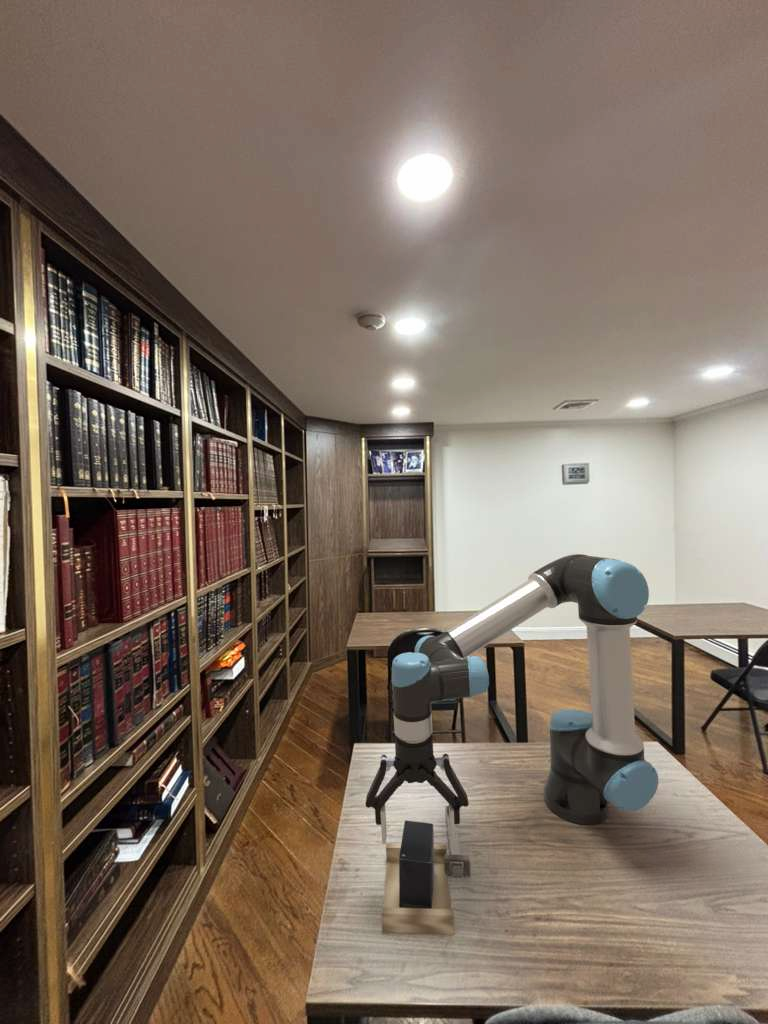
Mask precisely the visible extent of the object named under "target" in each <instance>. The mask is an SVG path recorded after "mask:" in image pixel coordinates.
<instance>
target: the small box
mask: <svg viewBox="0 0 768 1024" xmlns="http://www.w3.org/2000/svg"><path fill="white" fill-rule="evenodd" d="M434 838H435V835H434V824H433V823H430V822H421V821H411V820H404V824H403V829H402V837H401V843H400V844H401V849H400V855H399V908H424V909H432V898H433V883H434V844H435V841H434V840H435V839H434Z"/></svg>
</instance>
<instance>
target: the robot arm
mask: <svg viewBox="0 0 768 1024" xmlns="http://www.w3.org/2000/svg"><path fill="white" fill-rule="evenodd" d="M527 579H528V580H527V581H525V582H523V583H522V584H520V585H519V586H517V587H515V588H514V589H512V590H511V591H509V592H507V593H506V594H504V595H503V596H501V597H499V598H497V599H496V600H495V601H492V603H491V602H490V603H489V604H488V605H486V606H484V607H483V608H481V609H480V610H478V611H477V612H475V613H474V614H471V615H470V616H469V617H467V618H465V619H463V620H462V621H461V622H459V623H456V624H455V625H454V626H453V627H451V628H449V629H448V630H447V629H446V630H445V631H444V632H442V633H441V634H439V635H437V636H435V635H426V636H423V637H421V638H420V639H419V640H418V641H417V642H416V645H415V647H414V652H411V651H409V652H403V653H400V654H398V655H396V656H395V657H394V658H393V660H392V663H391V681H390V682H391V684H392V700H393V726H394V727H393V729H394V730H393V731H394V746H395V747H394V748H395V749H394V750H395V751H394V752H395V756H394V758H392V757H387V755H386V754H382V755H381V757H380V765H379V768H378V770H377V772H376V774H375V776H374V779H373V781H372V783H371V785H370V787H369V789H368V791H367V794H366V798H365V807H366V808H367V809H368V808H373V809H374V817H375V824H376V826H380V827H381V829H380V830H381V843H382V845H386V843H387V834H388V833H387V817H386V816H387V815H386V811H387V810H386V803H387V802H388V800H389V799H390V798H391V797H392V795H393V794H394V793H395V792H396V791H397V789H398V788H399V787H402V785H403V784H404V782H407V783H408V784H413V783H418V784H424V782H425V781H426V782H427V783H428V784H429V785H430V786H431V787H432V788H434V789H435V790H436V791H437V792H438V793H439V794H440V795H441V796H442V798H443V799H444V800H445V801H446V802H447V803H448V805H449V821H450V837H451V844H455V827H454V824H456V825H460V822H461V817H460V816H461V815H460V812H461V808H462V807H465V808H466V807H468V806H469V804H470V803H469V799H468V794H467V792H466V790H465V789H464V787H463V785H462V783H461V781H460V780H459V777H458V776H457V775H456V773H455V771H454V769H453V767H452V766H451V763H450V758H449V754H448V753H444V754H442V756H441V757H435V755H434V754H435V753H434V738H433V737H434V736H433V719H432V718H433V716H432V715H433V713H432V710H433V709H432V704H433V703H439V702H445V701H452V700H457V699H464V698H466V699H467V698H472V697H474V696H478V695H483V694H485V693H487V690H488V689H489V685H490V675H489V671H488V668H487V665H486V662H485V661H484V660H483V659H482V658H481V657H479V656H476V655H474V654H475V653H477V652H478V651H480V650H482V649H483V648H484V647H486V646H488V645H490V644H491V643H492V642H494V641H495V640H497V639H499V638H501V637H503V636H504V635H505V634H507V633H508V632H510V631H511V630H513V629H515V628H516V627H518V626H519V625H521V624H523V623H524V622H525V621H528V620H529V619H531V618H532V617H534V616H535V615H537V614H538V613H540V612H542V611H543V610H545V609H546V608H549V609H555V608H556V607H557V606H559V605H561V604H565V603H570V602H571V603H575V604H577V611H578V613H577V614H578V619H579V621H581V622H582V623H583V624H584V625H585V626H586V634H587V635H586V639H587V656H588V672H589V673H588V674H589V675H588V676H589V677H588V678H589V693H590V710H591V711H586V710H582V709H576V708H575V709H574V708H573V709H572V708H569V709H568V708H566V709H560V710H557V711H554V712H553V713H552V714H551V716H550V721H549V728H548V729H549V745H550V746H549V747H550V750H549V751H550V754H549V755H550V770H549V772H548V775H547V778H546V780H545V783H544V787H543V798H544V799H543V800H544V802H545V804H546V806H547V807H548V808H549V810H551V812H553V814H555V815H557V816H558V817H560V818H562V819H563V820H566V821H568V822H571V823H575V824H579V825H596V824H600V823H602V822H604V821H605V820H606V819H607V818H608V816H609V803H611V804H612V805H613V806H615V807H616V808H617V809H619V810H620V811H621V810H622V811H623V812H634V811H638V810H641V809H642V808H644V807H645V806H647V805H648V804H649V803H650V802H651V800H652V799H653V798H654V796H655V795H656V793H657V790H658V786H659V775H658V771H657V770H656V768H655V767H654V766H653V765H652V764H651V763H650V762H648V761H647V760H646V759H645V745H644V741H643V739H642V738H641V737H640V736H639V735H638V734H637V733H636V727H635V725H636V722H635V708H634V707H635V706H634V687H633V669H632V666H633V664H632V651H631V650H632V648H631V647H632V645H631V632H630V631H631V628H632V627H633V626H634V625H635V624H636V623H638V616H639V615H641V614H642V613H643V612H645V611H644V610H645V609H646V608H645V606H647V605H648V602H649V599H650V598H649V597H650V595H649V594H650V591H649V589H650V588H649V586H648V582H647V579H646V578H645V576H644V574H643V572H642V571H641V570H640V569H638V568H637V567H636V566H635V565H633V564H631V563H629V562H627V561H622V560H620V559H616V558H610V557H599V556H593V555H587V554H579V553H576V554H569V555H566V556H563V557H560V558H558V559H556V560H553V561H552V562H548V563H547V564H545V565H543V566H542V567H540V568H538V569H537V570H535V571H534V572H532V573H530V574H529V575H528V578H527ZM472 655H474V656H472ZM437 766H438V767H439V768H440V769H441V771H444V772H445V776H446V778H447V780H448V781H449V783H450V785H451V787H452V788H453V790H452V789H451V788H450V787H449V786H448V785H447V784H446V783H445V782H444V781H443V780H442V779H441V777H440V776H439V775H438V774H437V771H435V769H436V768H437ZM392 767H394V769H395V770H396V771H395V774H394V775H393V776H392V777H391V778H390V780H389V781H388V782H387V783H386V785H385V786H384V787H383V788H382V790H381V791H380V792H379V790H380V788H381V786H382V783H383V781H384V780H385V776H386V775H387V774H386V773H387V772H389V771H390V770H391V768H392ZM453 791H454V792H453ZM378 792H379V794H378Z"/></svg>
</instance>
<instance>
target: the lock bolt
mask: <svg viewBox="0 0 768 1024" xmlns="http://www.w3.org/2000/svg"><path fill="white" fill-rule="evenodd" d="M444 807H445V821H446V833H447V837H448V847H449V848H448V849H449V855H462V853H461V848H460V841H459V833H458V828H457V824H454V827H455V844H451V837H450V821H449V804H448V805H445V806H444ZM451 875H452V877H453V878H463V875H464V872H463V862H451Z"/></svg>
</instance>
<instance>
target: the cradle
mask: <svg viewBox="0 0 768 1024" xmlns="http://www.w3.org/2000/svg"><path fill="white" fill-rule="evenodd" d="M400 849H401V843H387V842H386V844H385V856H386V857H385V860H386V861H385V862H386V864H385V877H384V893H383V894H384V896H383V897H384V898H383V906H382V907H381V929H382V930H381V932H382V933H396V934H397V933H398V934H425V935H426V934H427V935H455V914H454V908H453V907H452V900H451V899H452V898H451V891H450V883H449V877H452V865H451V862H462V864H463V875H464V877H471V860H470V859H471V858H470V854H461V855H450V854H448V853H447V844H439V843H437V844H436V843H434V883H433V898H432V909H424V908H399V855H400Z"/></svg>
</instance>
